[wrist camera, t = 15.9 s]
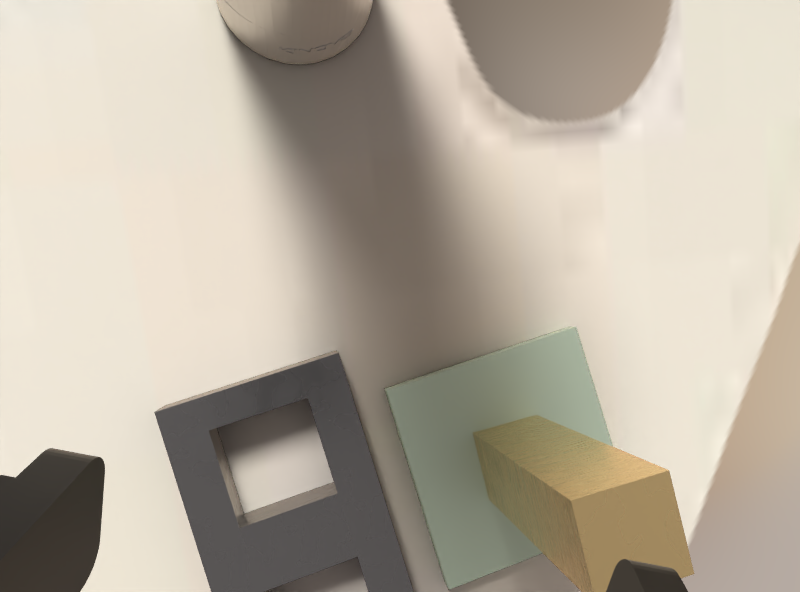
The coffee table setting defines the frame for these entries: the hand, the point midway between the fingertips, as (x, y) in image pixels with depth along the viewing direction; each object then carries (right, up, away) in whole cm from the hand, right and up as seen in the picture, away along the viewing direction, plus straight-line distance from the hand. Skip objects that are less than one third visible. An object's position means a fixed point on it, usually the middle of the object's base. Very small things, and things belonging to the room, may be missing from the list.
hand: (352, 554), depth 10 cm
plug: (+7, -5, +28) cm, 29 cm away
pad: (+7, -5, +29) cm, 30 cm away
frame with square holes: (-5, -9, +27) cm, 29 cm away
